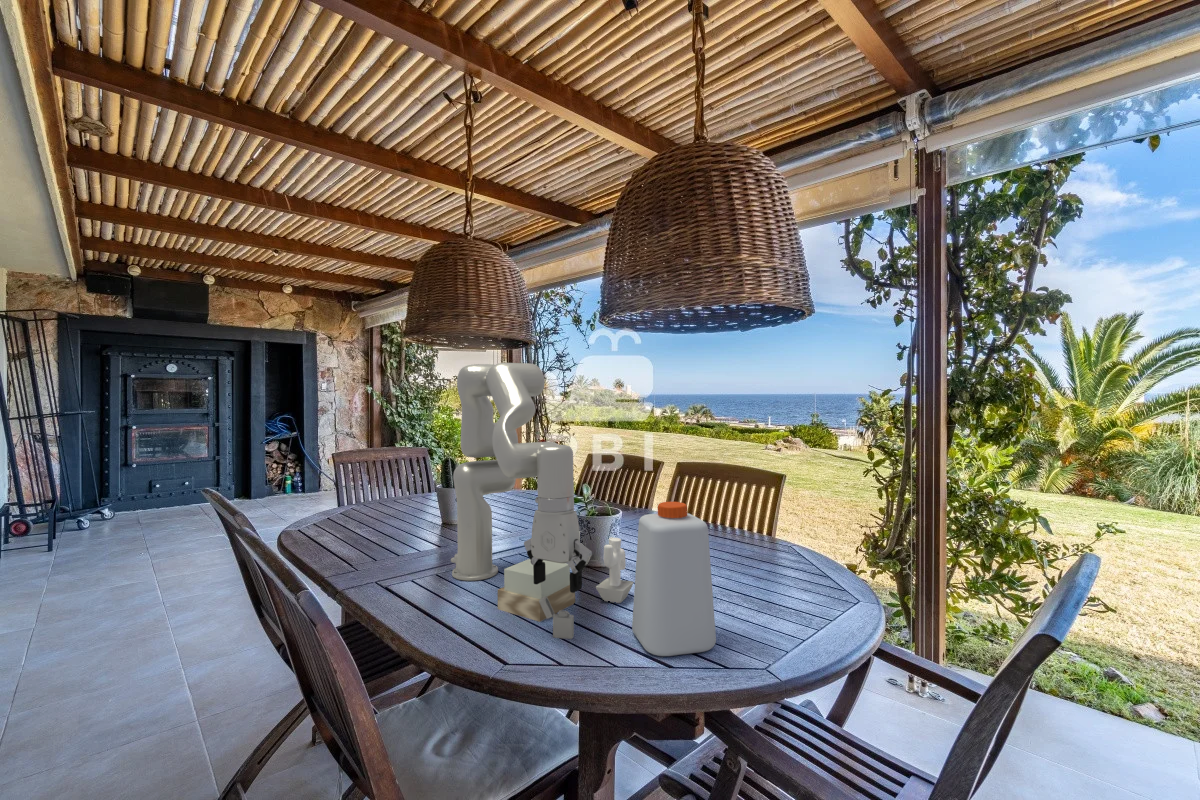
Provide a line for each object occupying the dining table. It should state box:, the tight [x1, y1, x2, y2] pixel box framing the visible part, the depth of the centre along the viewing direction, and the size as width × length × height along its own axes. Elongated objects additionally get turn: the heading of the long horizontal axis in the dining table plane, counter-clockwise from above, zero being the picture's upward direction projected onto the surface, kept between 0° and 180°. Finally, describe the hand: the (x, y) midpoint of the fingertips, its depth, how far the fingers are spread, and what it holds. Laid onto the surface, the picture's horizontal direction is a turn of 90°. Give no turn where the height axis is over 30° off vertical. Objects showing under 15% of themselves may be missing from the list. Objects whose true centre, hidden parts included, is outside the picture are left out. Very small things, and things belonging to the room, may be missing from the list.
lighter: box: [539, 596, 575, 640], centre depth 116 cm, size 7×2×8 cm, turn 79°
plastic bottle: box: [631, 501, 717, 657], centre depth 114 cm, size 15×15×28 cm
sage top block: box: [503, 558, 571, 599], centre depth 131 cm, size 11×11×5 cm
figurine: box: [595, 536, 635, 604], centre depth 136 cm, size 7×9×15 cm
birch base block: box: [497, 585, 576, 623], centre depth 132 cm, size 13×13×5 cm
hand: (557, 586), depth 115 cm, fingers open, 9 cm apart
